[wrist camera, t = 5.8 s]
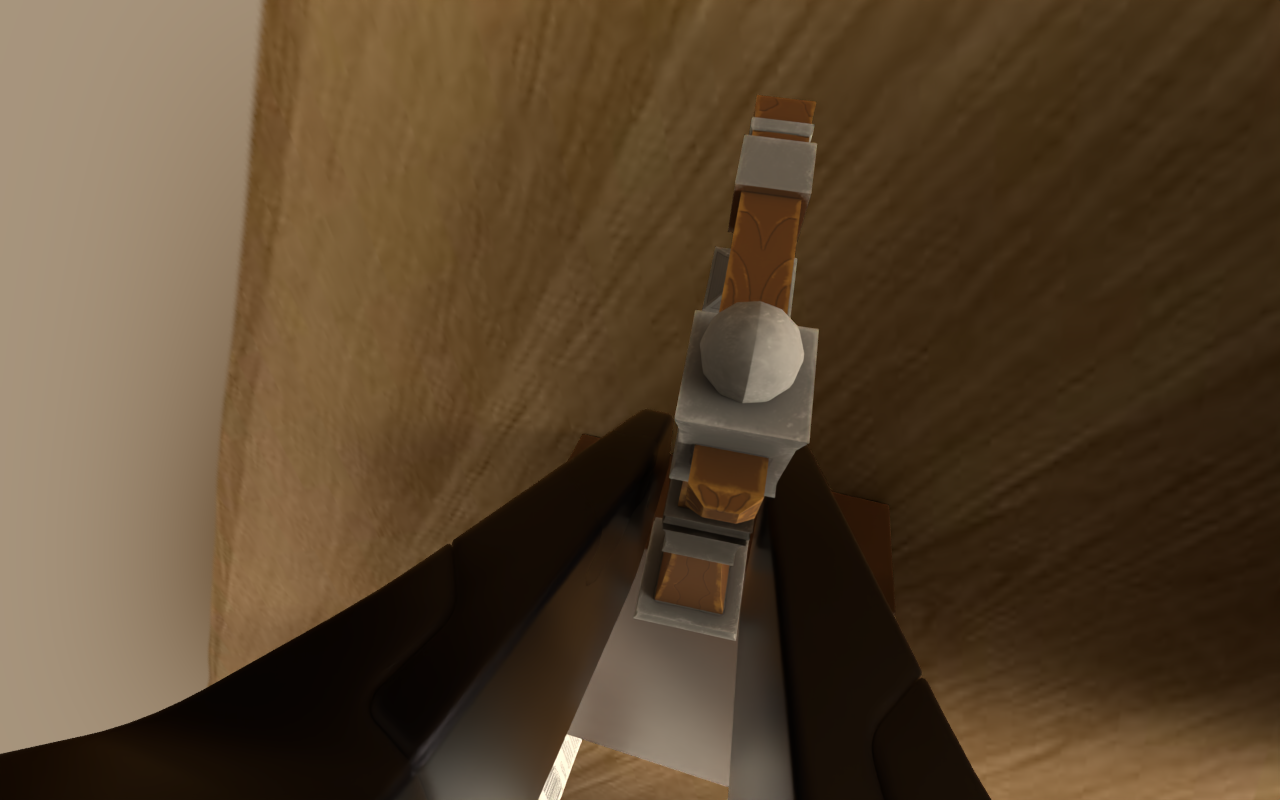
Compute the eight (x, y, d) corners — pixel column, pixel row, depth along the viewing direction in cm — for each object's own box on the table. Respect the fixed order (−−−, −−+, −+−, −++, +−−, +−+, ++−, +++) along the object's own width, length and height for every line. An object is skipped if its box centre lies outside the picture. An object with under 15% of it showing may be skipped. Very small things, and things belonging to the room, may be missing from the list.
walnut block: (889, 504, 19) (896, 614, 16) (798, 708, 27) (790, 808, 24) (582, 432, 21) (534, 519, 18) (582, 643, 29) (549, 729, 25)
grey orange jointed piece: (906, 18, 6) (901, 468, 3) (765, 422, 13) (733, 654, 10) (710, -1, 6) (589, 410, 4) (678, 406, 13) (630, 630, 11)
